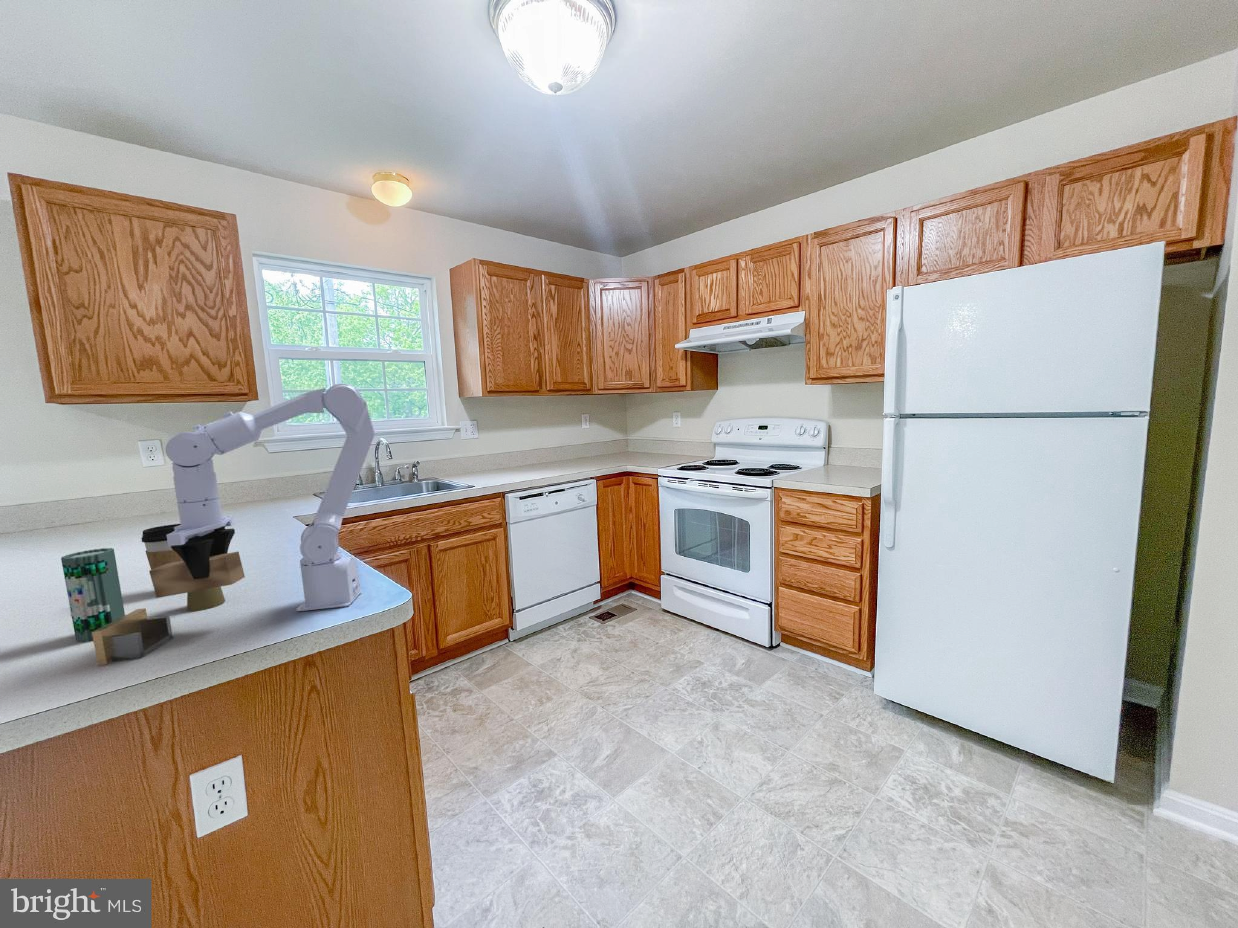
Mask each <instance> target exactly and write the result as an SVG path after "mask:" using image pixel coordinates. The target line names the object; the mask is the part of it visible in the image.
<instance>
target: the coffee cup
mask: <svg viewBox="0 0 1238 928" xmlns="http://www.w3.org/2000/svg"><path fill="white" fill-rule="evenodd" d="M179 525H181V524H180V523H174V524H167V525H159V526H154V527H151V528H146V529H143V530H142V535H141V536H142V537H141V543H144V545H145V549H146V550H145V555H146V557H147V561H148V565H149V567H150V570H152V569H155V568H157V567H160V566H162V565H164V564H168V563H174V562H180V561H183V559H182V558H181V557H180V556H179V555H178V554H177V553H176V552H175V551H174V550H173V549H171V546H168V541H167V534H170V533H172V532H174V531H175V530H174V527H176V526H179Z"/></svg>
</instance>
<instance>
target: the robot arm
mask: <svg viewBox="0 0 1238 928" xmlns="http://www.w3.org/2000/svg"><path fill="white" fill-rule="evenodd" d="M326 389H327V387H323V388H318V389H315V390H312V391H311V390H309V391H307V392H304V393H301V394H299V395H298V394H297V396H293V397H291V398H290V399H287V400H284V401H281V403H277V404H275V405H273V406H271V407H268V408H266V409H263V410H261V411H259V412H256V413H254V414H249V413H245V412H242V411H238V412H235V413H233V412H232V411H228V412H225V413H223V414H222V416H223V417H222V418H219V419H217V420H215V421H212V422H210V423H207V424H204V425H201V424H196V425H194V426H192V429H193V431H194V432H193V431H182V432H179V433H177V434H176V435H174V436H173V437H171V438H170V439H169V440H168V441H167V443H166V445H165V454H166V456H167V457H168V459H169V461H171V462H172V463H171V464H172V468H171V469H172V472H173V477H172V478H173V485H174V490H175V491H174V492H175V497H176V502H177V503H176V504H177V510H178V514H179V515H178V517H179V524H181V525H179V526H176V527H174V530H175V531H174V532H172V533H170V534H167V541H168V546H171V549H173V550H174V551H175V552H176V553H177V554H178V555H179V556H180V557H181V558H182V559H183V561H184V562H185V564H186V566H187V567H188V569H189V571H190V573H191V575H192V577H193V579H203V578H208V577H209V573H210V562H209V557H210V556H215V555H221V554H227V553H229V547H230V544H231V542H232V539H233V537H234V536H235V533H236V531H235V528H226V527H232V526H234V525H235V521H234V516H233V514H230V515H223V513H222V507H221V501H220V500H221V499H220V494H219V487H218V480H217V479H218V478H217V474H216V472H215V469H214V460H213V457H214V456H215V455H218V456H222V455H225V454H227V453H229V452H232V451H234V450H237V449H239V448H241V447H244V446H246V445H248V444H249V445H250V444H252V443H253V442H256V441H258V440H259V439H260V436H261V434H262V431H263V430H265V429H269V428H270V427H273V426H275V425H278V424H281V423H283V422H285V421H289V420H292V419H294V418H297V417H298V416H302V415H304V414H324V413H325V411H324V409H325V410H326V411H327V412H328V413H329V414H330V415H331V416H333V418H335V419H336V420H337V421H338V422H339V425H341V426H340V427H342V429H343V431H344V432H345V434H346V437H345V440H344V443H343V446H342V448H341V450H340V453H339V456H338V458H337V460H336V464H335V465H334V468H333V471H332V474H331V476H330V478H329V481H328V483H327V486H326V488H325V490H324V491H325V492H323V493H324V494H323V496H322V499H321V502H320V503H319V506H318V509H317V511H316V513H315V515H314V517H313V520H312V522H311V523H310V524H309V525H308V526H307V527H305V529H304V530H303V531H302V533H301V535H300V545H299V551H300V554H301V556H302V558H301V559H299V566H300V571H301V572H300V573H301V581H302V587H303V597H304V602H303V603H302V604H300V605H299V606H298V607H297V608H296V609H295V610H296V612H304V611H313V610H323V609H332V608H342V607H343V608H344V607H348V606H350V605H351V604H352V603H353V602H354V601H355V600H356V598H358V597H359V595H360V594H361V593H362V592H363V590H362V589H361V583H360V574H359V567H358V562H357V560H356V558H355V557H353V556H352V557H351V556H345V555H343V554H342V551H340V550H339V544H340V543H339V539H338V536H339V533H340V530H341V527H342V523H343V518H344V515H345V512H346V510H347V508H348V505H349V502H350V500H351V496H352V495H353V491H354V489H355V486H356V485H357V482H358V478H359V477H360V473H361V472H362V469H363V467H364V463H365V461H366V458H367V456H368V453H369V451H370V447H371V446H372V443H373V440H374V438H375V429H374V426H373V422H372V419H371V415H370V412H369V408H368V403H367V401H366V400H365V398H364V397H363V396H362V394H361V393H360V392H359V390H358V389H357V388H356V387H354V386H352V385H351V384H347V383H337V384H333V385H332V386H330V387H329V388H328V389H327V390H326Z"/></svg>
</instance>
